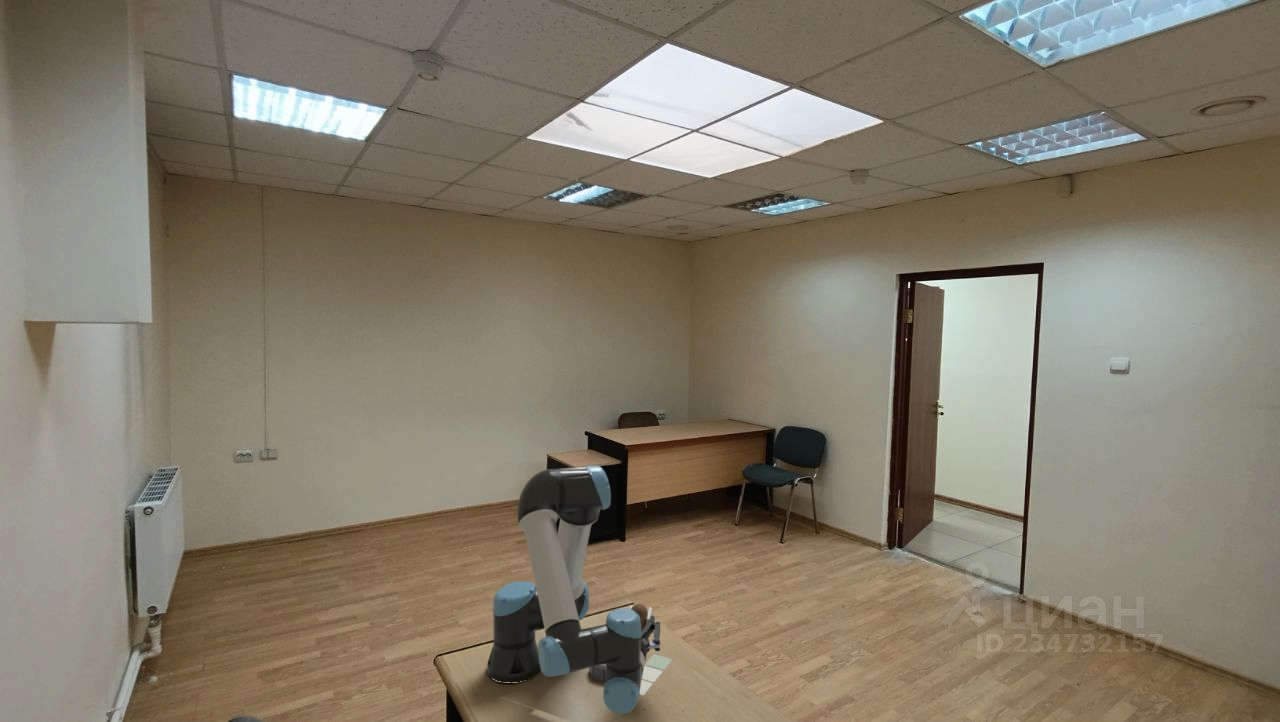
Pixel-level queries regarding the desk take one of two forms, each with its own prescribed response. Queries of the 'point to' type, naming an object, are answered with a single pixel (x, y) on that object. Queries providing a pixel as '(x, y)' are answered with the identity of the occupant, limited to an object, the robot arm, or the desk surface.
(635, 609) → the walnut pawn
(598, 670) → the dome base
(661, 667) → the game board
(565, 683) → the desk surface
